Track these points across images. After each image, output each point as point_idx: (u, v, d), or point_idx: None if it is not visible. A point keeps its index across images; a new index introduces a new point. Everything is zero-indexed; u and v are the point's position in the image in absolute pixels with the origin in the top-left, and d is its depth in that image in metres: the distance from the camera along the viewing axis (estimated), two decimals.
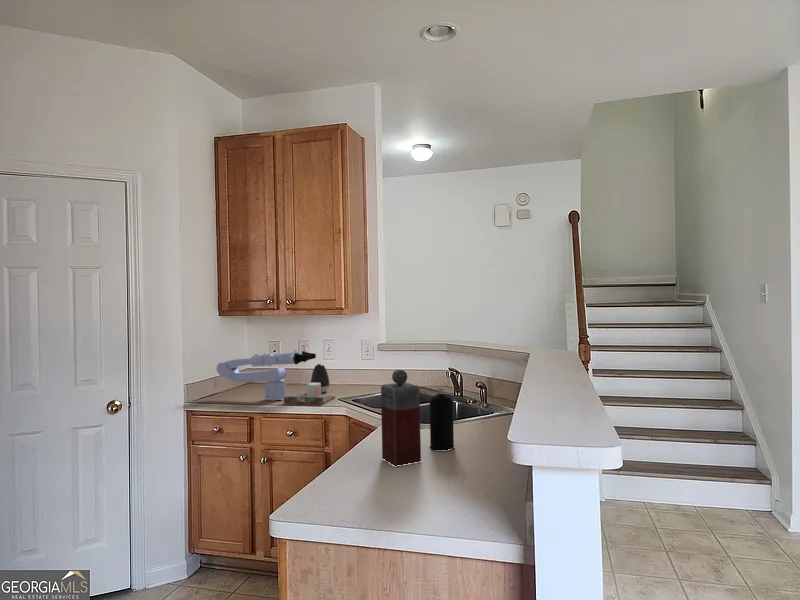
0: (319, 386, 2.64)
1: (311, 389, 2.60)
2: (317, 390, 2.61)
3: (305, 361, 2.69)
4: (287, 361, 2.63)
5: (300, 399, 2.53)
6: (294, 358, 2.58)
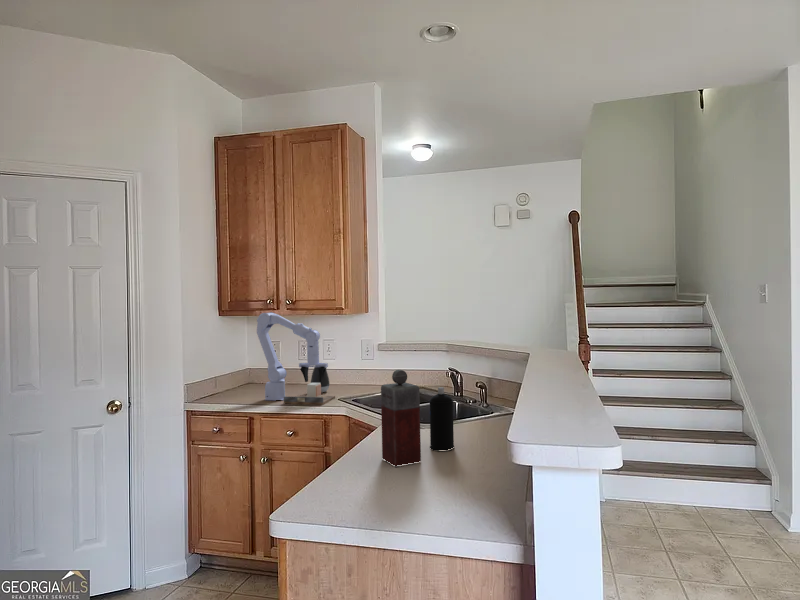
0: (319, 386, 2.64)
1: (311, 389, 2.60)
2: (317, 390, 2.61)
3: (301, 370, 2.62)
4: (316, 357, 2.62)
5: (300, 399, 2.53)
6: (325, 368, 2.62)
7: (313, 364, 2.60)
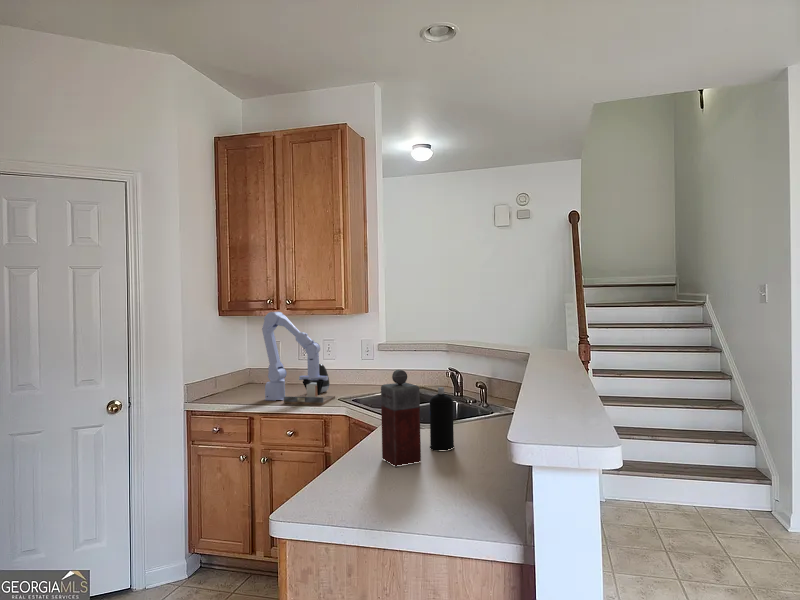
0: None
1: (311, 389, 2.60)
2: (317, 390, 2.61)
3: (303, 382, 2.62)
4: (317, 370, 2.62)
5: (300, 399, 2.53)
6: (323, 380, 2.62)
7: (313, 377, 2.60)
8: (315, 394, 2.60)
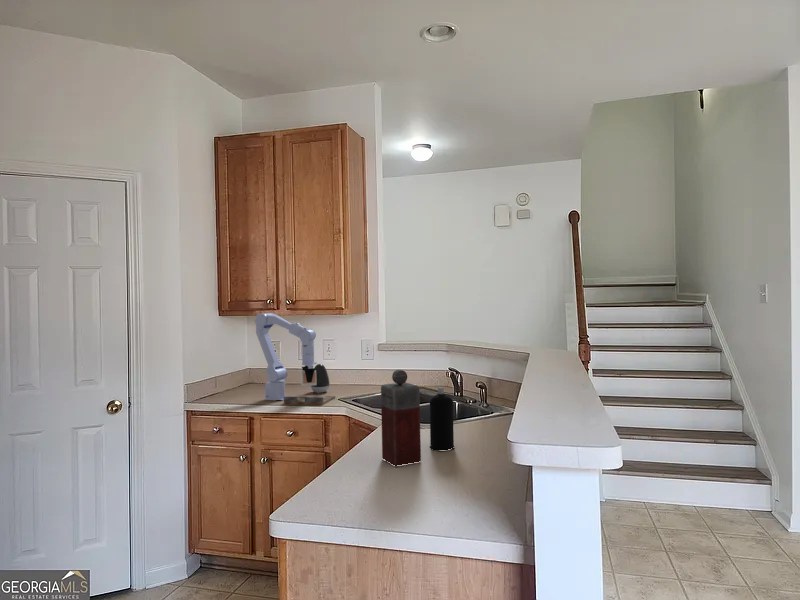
0: None
1: (301, 375, 2.59)
2: (305, 377, 2.58)
3: (302, 368, 2.64)
4: (306, 357, 2.58)
5: (300, 399, 2.53)
6: None
7: (303, 363, 2.59)
8: (303, 381, 2.58)
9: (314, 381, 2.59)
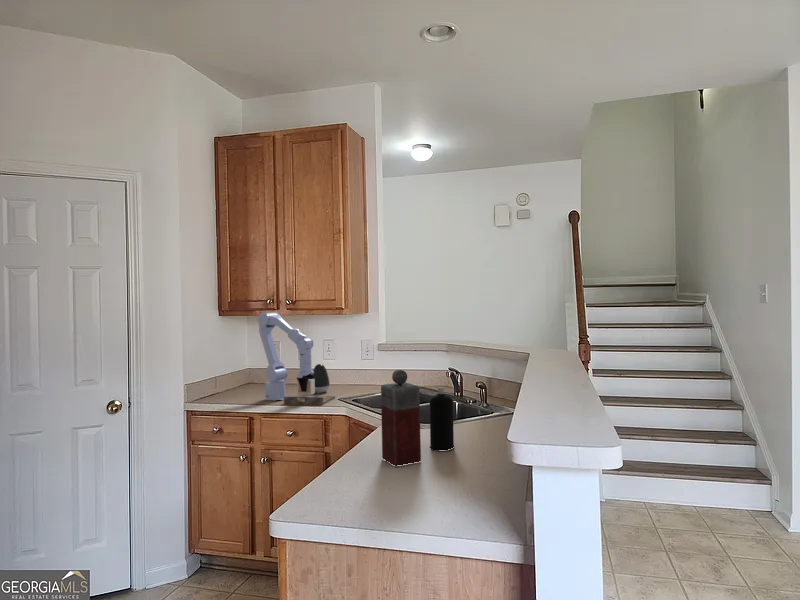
0: None
1: None
2: None
3: None
4: (301, 365, 2.57)
5: (300, 399, 2.53)
6: (301, 378, 2.54)
7: (299, 372, 2.58)
8: (298, 389, 2.58)
9: (308, 390, 2.56)
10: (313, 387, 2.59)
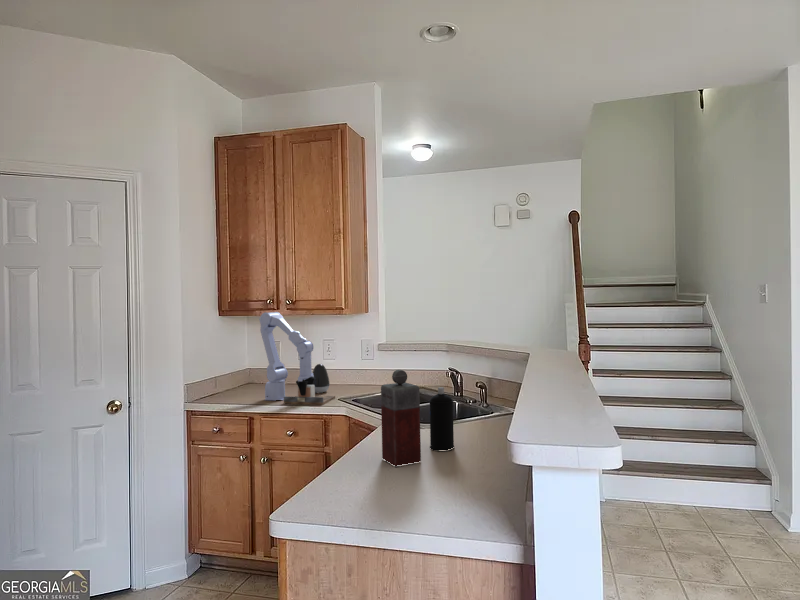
0: None
1: None
2: None
3: (305, 379, 2.65)
4: (301, 369, 2.57)
5: (300, 399, 2.53)
6: (301, 381, 2.53)
7: (299, 375, 2.58)
8: None
9: (309, 396, 2.56)
10: (313, 393, 2.59)
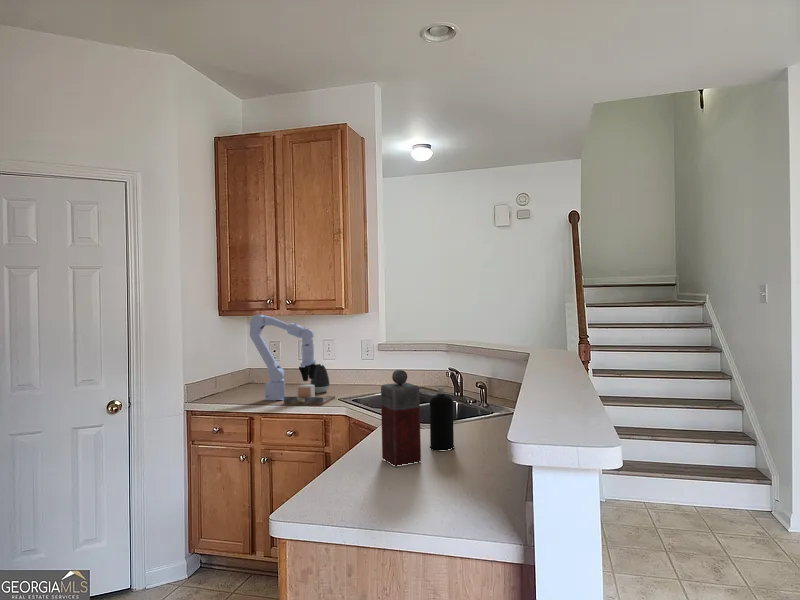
0: (305, 389, 2.56)
1: None
2: (300, 392, 2.57)
3: (307, 366, 2.73)
4: (303, 355, 2.65)
5: (300, 399, 2.53)
6: (303, 367, 2.61)
7: (302, 362, 2.67)
8: None
9: (309, 396, 2.56)
10: (313, 393, 2.59)
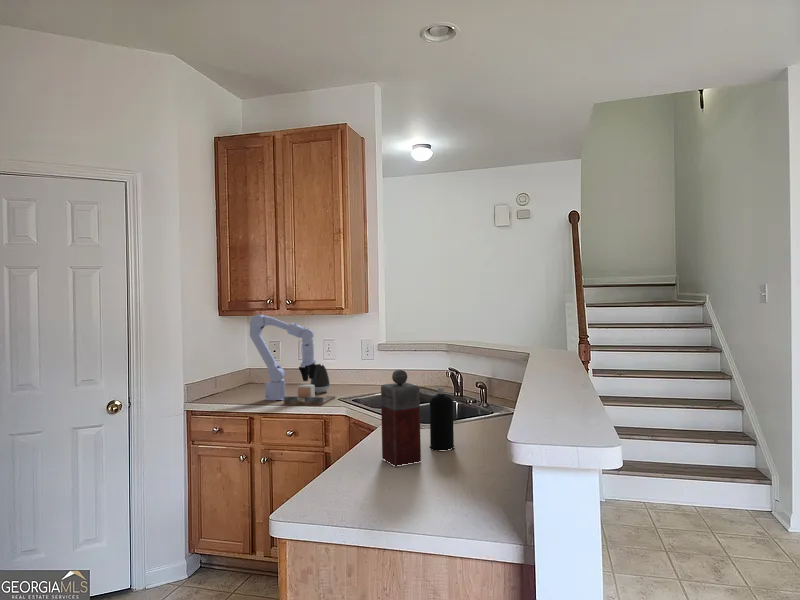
0: (305, 389, 2.56)
1: None
2: (300, 392, 2.57)
3: (307, 366, 2.73)
4: (303, 355, 2.65)
5: (300, 399, 2.53)
6: (303, 367, 2.61)
7: (302, 362, 2.67)
8: None
9: (309, 396, 2.56)
10: (313, 393, 2.59)
